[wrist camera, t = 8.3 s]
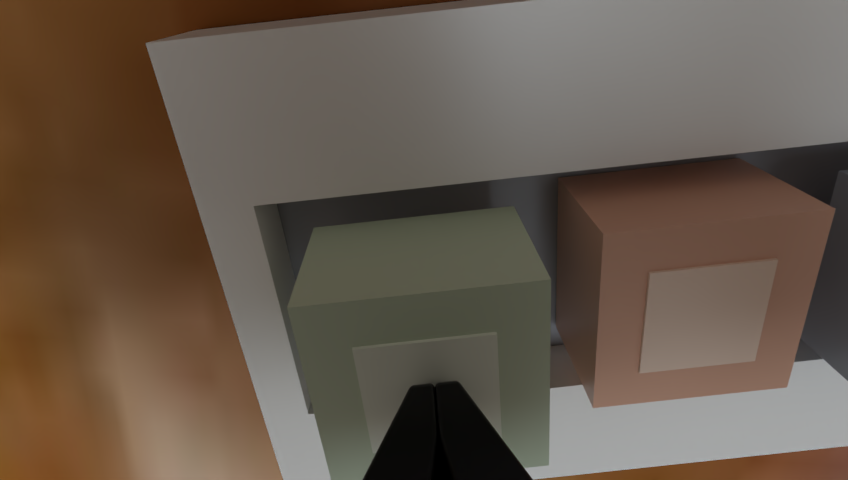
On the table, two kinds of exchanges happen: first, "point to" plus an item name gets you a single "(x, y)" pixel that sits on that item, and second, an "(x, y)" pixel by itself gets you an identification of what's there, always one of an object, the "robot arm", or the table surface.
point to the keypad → (503, 169)
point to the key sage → (423, 327)
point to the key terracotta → (685, 279)
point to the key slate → (832, 289)
